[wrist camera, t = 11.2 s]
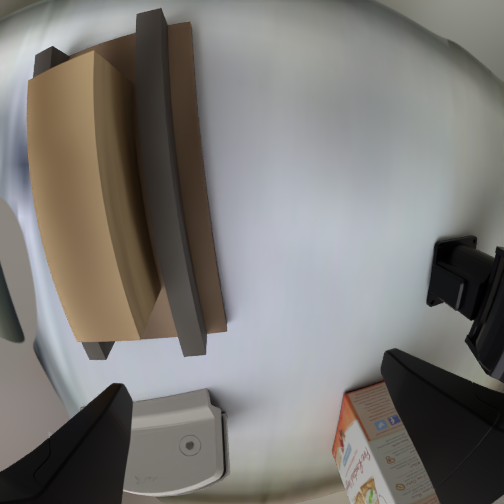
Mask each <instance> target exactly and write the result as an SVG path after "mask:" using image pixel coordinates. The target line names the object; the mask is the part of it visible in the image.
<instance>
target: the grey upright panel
mask: <svg viewBox="0 0 504 504" xmlns="http://www.w3.org/2000/svg"><path fill="white" fill-rule="evenodd" d="M83 408H84V407H81V408H80V411H81V410H82V409H83ZM229 474H230V461H229V445H228V427H227V416H226V413H223V414H221V409H219V408H217V407H215V406H213V405H211V403H210V396H209V391H208V390H207V389H202V390H198V391H193V392H189V393H184V394H179V395H174V396H168V397H163V398H157V399H151V400H145V401H138V402H133V412H132V425H131V440H130V447H129V453H128V459H127V465H126V471H125V478H124V486H123V491H126V492H129V493H134V494H140V495H148V496H176V495H182V494H188V493H192V492H195V491H199V490H202V489H205V488H207V487H210V486H212V485H214V484H216V483H218V482H220V481H222V480H224V479H226V478H227V477H228V476H229Z"/></svg>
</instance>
